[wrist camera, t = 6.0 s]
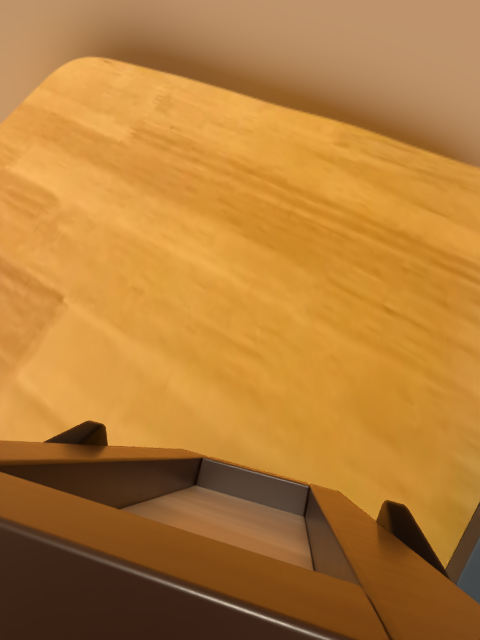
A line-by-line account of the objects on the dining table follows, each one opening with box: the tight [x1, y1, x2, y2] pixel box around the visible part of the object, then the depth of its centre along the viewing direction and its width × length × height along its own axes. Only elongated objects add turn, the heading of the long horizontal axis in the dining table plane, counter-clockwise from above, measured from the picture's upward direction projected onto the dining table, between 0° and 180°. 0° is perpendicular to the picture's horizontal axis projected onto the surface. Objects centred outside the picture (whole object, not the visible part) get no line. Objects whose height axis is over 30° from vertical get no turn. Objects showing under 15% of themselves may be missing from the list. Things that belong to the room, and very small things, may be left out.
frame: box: [0, 441, 480, 640], centre depth 8 cm, size 2×6×13 cm, turn 76°
